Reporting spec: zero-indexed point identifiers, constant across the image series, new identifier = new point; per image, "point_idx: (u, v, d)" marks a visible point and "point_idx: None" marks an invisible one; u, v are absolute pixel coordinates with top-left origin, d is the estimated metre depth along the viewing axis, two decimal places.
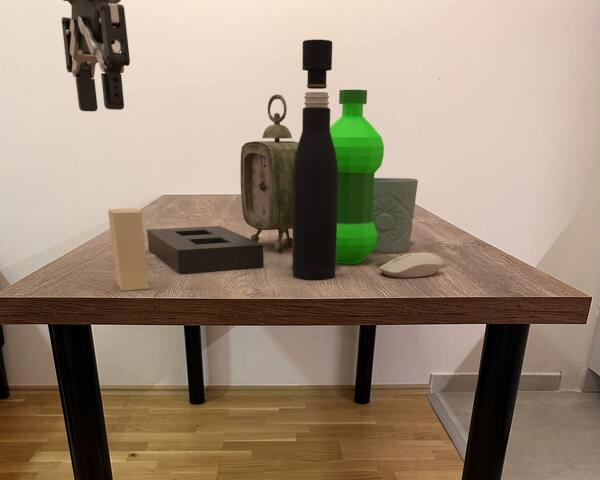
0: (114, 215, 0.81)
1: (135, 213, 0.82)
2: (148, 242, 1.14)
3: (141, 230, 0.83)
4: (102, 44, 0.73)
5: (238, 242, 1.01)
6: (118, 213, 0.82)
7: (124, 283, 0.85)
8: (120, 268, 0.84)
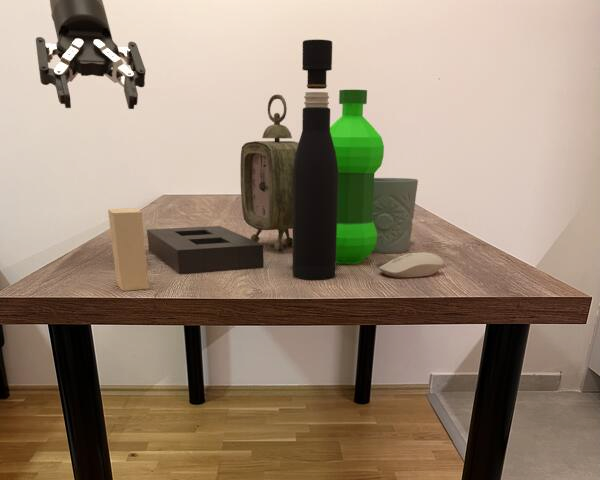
0: (114, 215, 0.81)
1: (135, 213, 0.82)
2: (148, 242, 1.14)
3: (141, 230, 0.83)
4: None
5: (238, 242, 1.01)
6: (118, 213, 0.82)
7: (124, 283, 0.85)
8: (120, 268, 0.84)
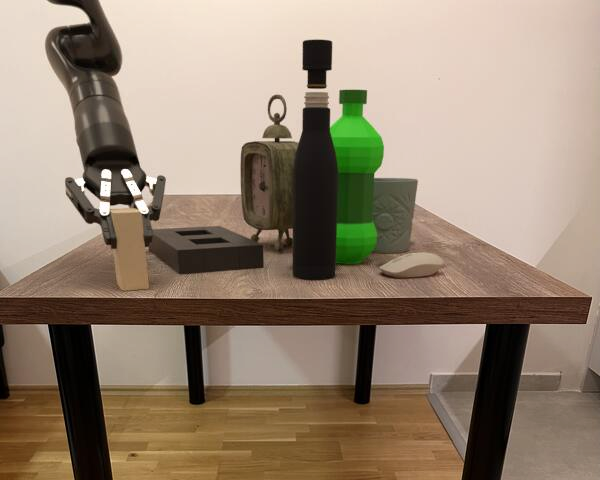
0: (114, 215, 0.81)
1: (135, 213, 0.82)
2: None
3: (141, 230, 0.83)
4: None
5: (238, 242, 1.01)
6: (118, 213, 0.82)
7: (125, 283, 0.85)
8: (120, 268, 0.84)
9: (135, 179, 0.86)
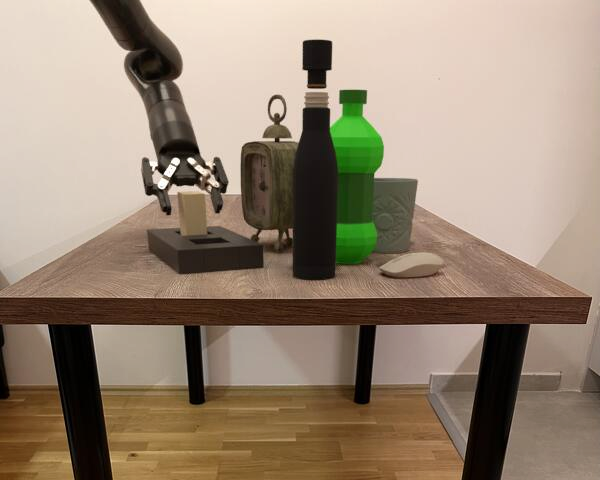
0: (184, 196, 1.05)
1: (200, 194, 1.06)
2: (148, 242, 1.14)
3: (204, 208, 1.07)
4: None
5: (238, 242, 1.01)
6: (187, 194, 1.05)
7: None
8: None
9: None
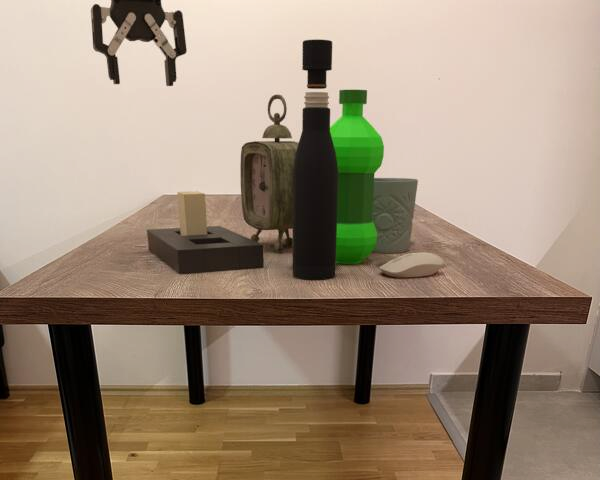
0: (184, 196, 1.05)
1: (200, 194, 1.06)
2: (148, 242, 1.14)
3: (204, 208, 1.07)
4: None
5: (238, 242, 1.01)
6: (187, 194, 1.05)
7: None
8: None
9: (155, 22, 0.99)
